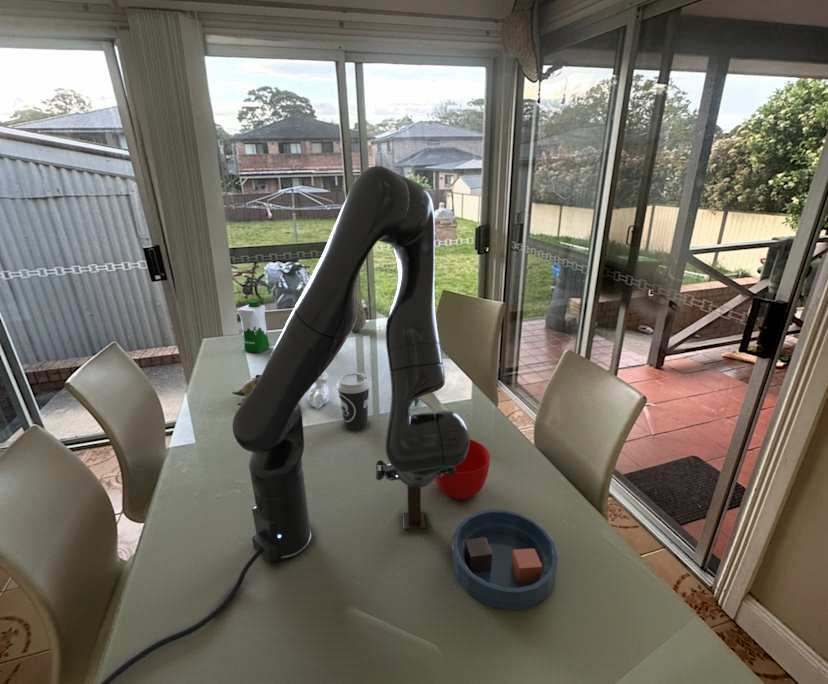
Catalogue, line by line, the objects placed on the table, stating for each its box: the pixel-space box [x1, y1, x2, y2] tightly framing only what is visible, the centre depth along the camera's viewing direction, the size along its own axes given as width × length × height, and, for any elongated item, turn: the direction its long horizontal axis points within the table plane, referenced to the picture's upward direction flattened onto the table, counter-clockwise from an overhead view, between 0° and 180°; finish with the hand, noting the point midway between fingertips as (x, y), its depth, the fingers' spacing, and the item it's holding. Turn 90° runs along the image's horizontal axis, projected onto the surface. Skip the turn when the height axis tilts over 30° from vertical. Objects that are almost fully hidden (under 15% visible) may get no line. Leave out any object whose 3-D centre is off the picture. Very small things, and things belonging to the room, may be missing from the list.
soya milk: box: [236, 299, 270, 354], centre depth 179 cm, size 9×9×20 cm
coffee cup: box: [335, 372, 371, 432], centre depth 125 cm, size 10×10×15 cm
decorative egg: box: [351, 300, 367, 333], centre depth 200 cm, size 11×11×15 cm
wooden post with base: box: [402, 485, 427, 531], centre depth 89 cm, size 4×4×16 cm
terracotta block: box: [511, 548, 542, 585], centre depth 78 cm, size 4×4×4 cm
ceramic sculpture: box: [231, 374, 262, 406], centre depth 141 cm, size 11×9×15 cm
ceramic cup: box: [434, 439, 491, 501], centre depth 100 cm, size 13×17×10 cm
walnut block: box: [464, 537, 492, 573], centre depth 81 cm, size 4×4×4 cm
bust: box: [307, 371, 330, 409], centre depth 139 cm, size 12×8×11 cm
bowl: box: [451, 508, 559, 611], centre depth 81 cm, size 19×19×5 cm
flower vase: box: [413, 391, 470, 432], centre depth 132 cm, size 12×12×35 cm
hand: (413, 473), depth 86 cm, fingers open, 8 cm apart
